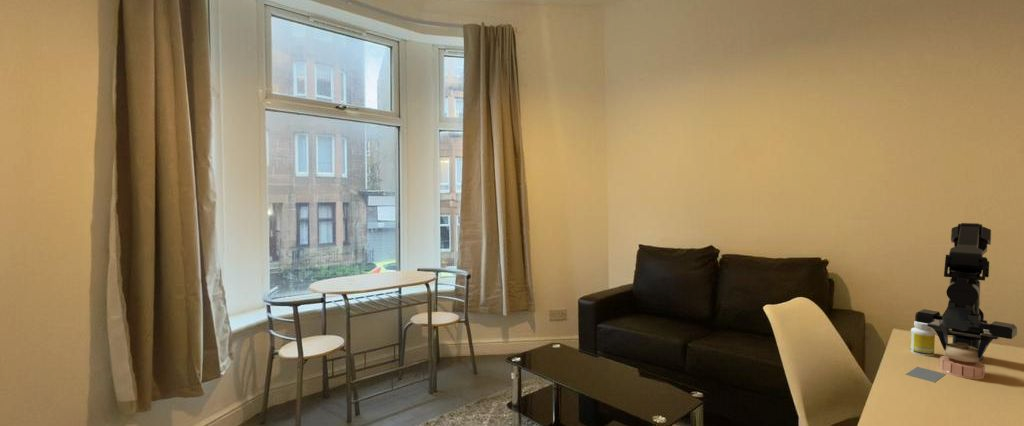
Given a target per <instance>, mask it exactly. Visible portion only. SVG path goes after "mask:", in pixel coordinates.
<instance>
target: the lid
mask: <svg viewBox="0 0 1024 426" xmlns="http://www.w3.org/2000/svg"><path fill="white" fill-rule="evenodd" d="M978 350H979V349H977V348H975V347H972V346H969V345H968V344H966V343H960V342H957V343H956V344H954V343H948V344H946V351H945V356H947V357H949V358H952V359H955V360H960V361H965V362H980V361H979V358H978Z"/></svg>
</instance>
